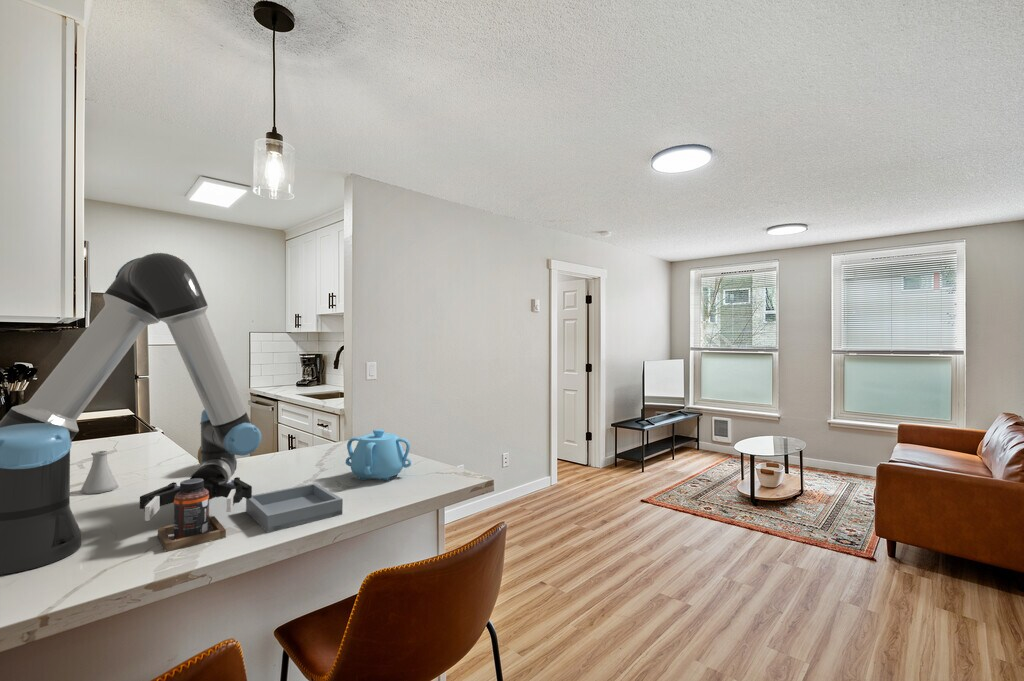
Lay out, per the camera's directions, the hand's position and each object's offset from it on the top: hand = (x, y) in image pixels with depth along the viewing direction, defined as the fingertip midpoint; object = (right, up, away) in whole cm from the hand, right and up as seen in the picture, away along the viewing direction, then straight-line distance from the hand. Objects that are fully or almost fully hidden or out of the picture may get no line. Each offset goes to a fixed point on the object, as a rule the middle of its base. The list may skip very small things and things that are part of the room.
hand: (189, 509), depth 95 cm
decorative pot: (+24, -7, +47) cm, 53 cm away
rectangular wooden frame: (-1, -6, +3) cm, 7 cm away
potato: (-26, -6, +53) cm, 60 cm away
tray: (+13, -7, +16) cm, 22 cm away
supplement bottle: (-1, -7, +3) cm, 7 cm away
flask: (-44, -6, +30) cm, 53 cm away
